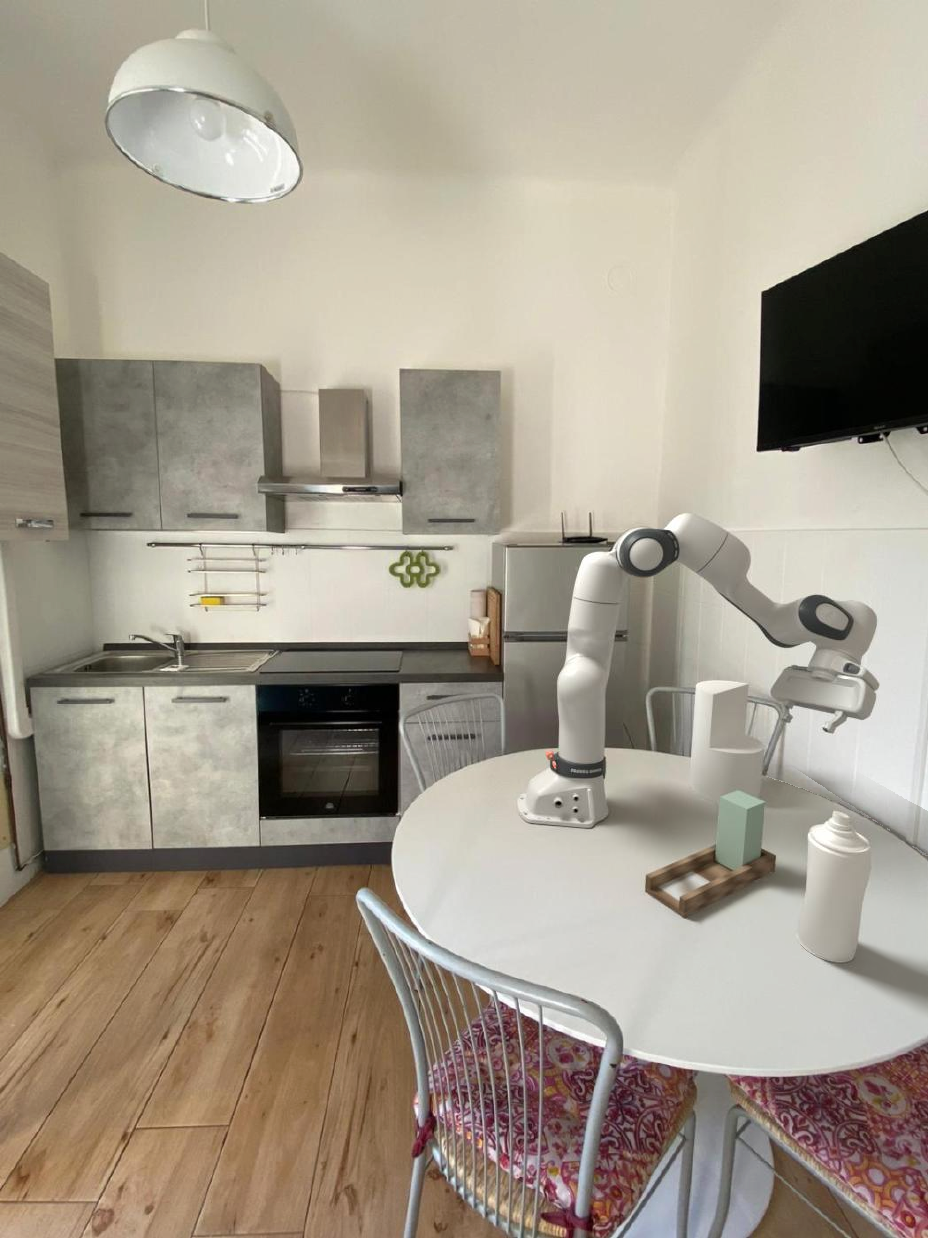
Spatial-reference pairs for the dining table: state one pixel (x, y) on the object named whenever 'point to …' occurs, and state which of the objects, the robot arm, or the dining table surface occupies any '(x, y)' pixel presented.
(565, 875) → the dining table surface
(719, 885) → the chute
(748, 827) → the block
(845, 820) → the spray can
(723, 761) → the cylinder
